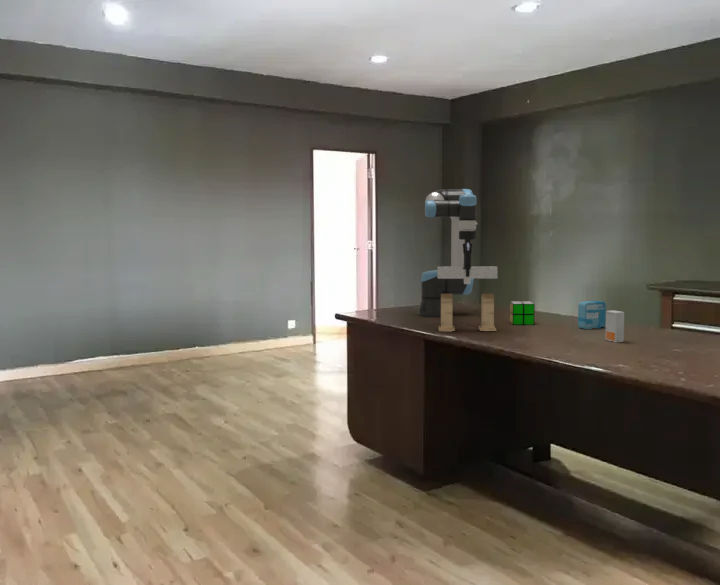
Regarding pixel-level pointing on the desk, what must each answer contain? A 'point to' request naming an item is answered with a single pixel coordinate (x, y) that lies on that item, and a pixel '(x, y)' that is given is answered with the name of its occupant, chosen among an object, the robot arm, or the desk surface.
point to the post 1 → (446, 313)
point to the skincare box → (614, 326)
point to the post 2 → (487, 313)
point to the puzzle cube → (522, 312)
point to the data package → (591, 314)
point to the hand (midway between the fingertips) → (467, 283)
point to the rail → (476, 272)
